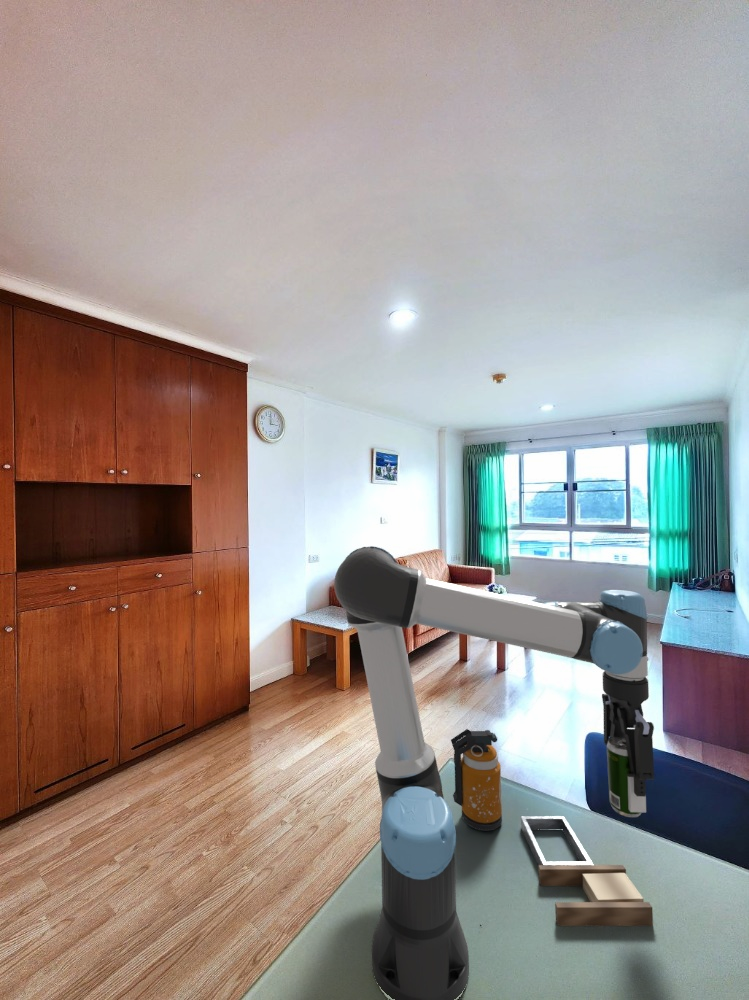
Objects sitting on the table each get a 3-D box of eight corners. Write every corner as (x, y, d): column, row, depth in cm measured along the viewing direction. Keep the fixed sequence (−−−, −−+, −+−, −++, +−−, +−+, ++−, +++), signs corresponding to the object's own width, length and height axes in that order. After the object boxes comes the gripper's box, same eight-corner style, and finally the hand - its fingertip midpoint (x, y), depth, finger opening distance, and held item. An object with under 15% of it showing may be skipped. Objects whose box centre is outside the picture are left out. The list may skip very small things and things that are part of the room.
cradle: (594, 878, 83) (593, 864, 83) (543, 878, 84) (543, 864, 84) (564, 827, 97) (564, 816, 97) (521, 827, 97) (520, 816, 97)
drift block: (598, 917, 76) (598, 899, 76) (582, 890, 81) (582, 873, 81) (644, 916, 76) (643, 898, 76) (625, 889, 81) (624, 872, 81)
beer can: (630, 822, 78) (627, 753, 78) (603, 804, 82) (600, 740, 83) (649, 812, 80) (645, 745, 80) (621, 796, 85) (618, 733, 85)
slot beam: (558, 925, 74) (557, 907, 74) (538, 881, 83) (538, 865, 83) (652, 925, 74) (652, 907, 74) (623, 881, 83) (622, 864, 83)
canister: (507, 833, 95) (504, 740, 96) (456, 834, 96) (454, 741, 96) (496, 806, 104) (493, 721, 105) (450, 806, 105) (448, 722, 105)
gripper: (677, 693, 73) (681, 836, 72) (619, 658, 91) (622, 771, 90) (631, 693, 73) (635, 835, 72) (583, 658, 91) (585, 771, 90)
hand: (628, 799), depth 81 cm, fingers closed on beer can, 5 cm apart
